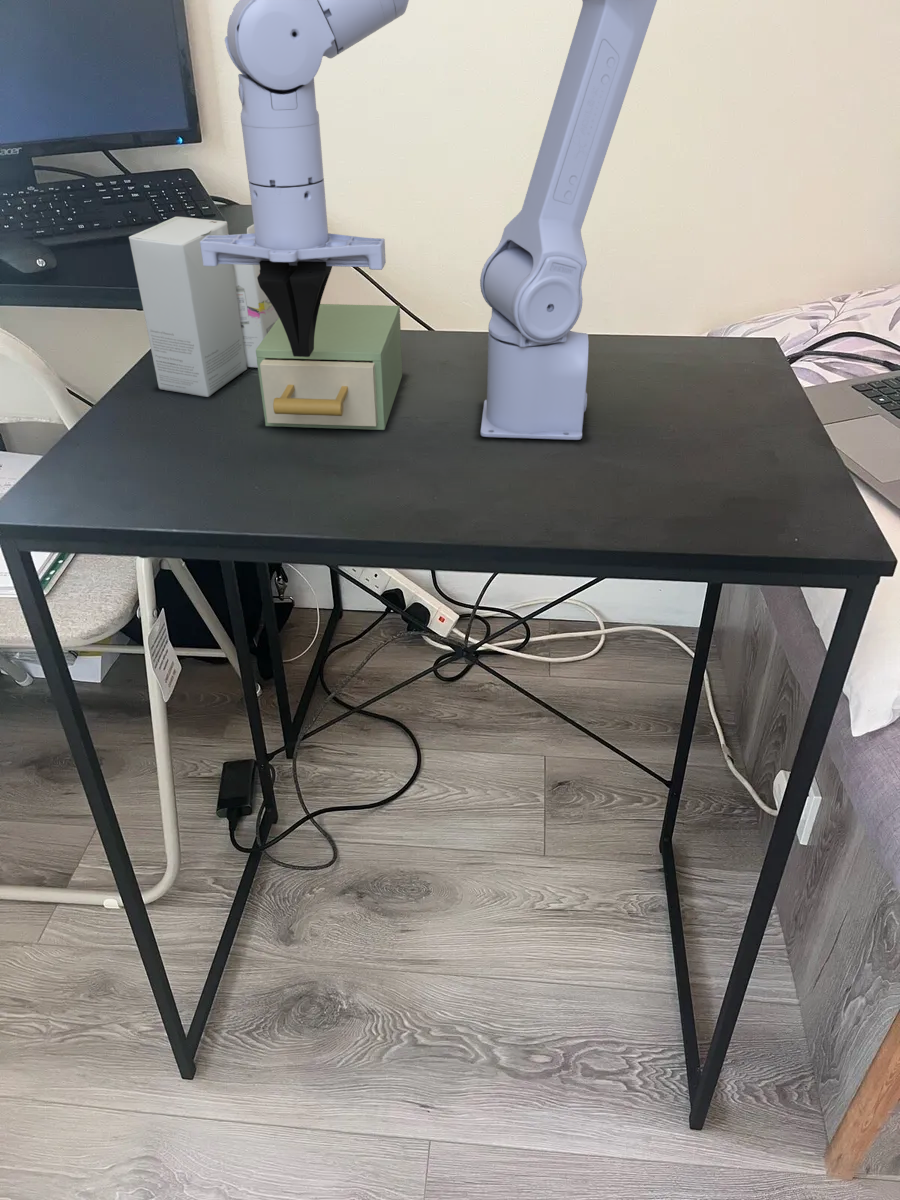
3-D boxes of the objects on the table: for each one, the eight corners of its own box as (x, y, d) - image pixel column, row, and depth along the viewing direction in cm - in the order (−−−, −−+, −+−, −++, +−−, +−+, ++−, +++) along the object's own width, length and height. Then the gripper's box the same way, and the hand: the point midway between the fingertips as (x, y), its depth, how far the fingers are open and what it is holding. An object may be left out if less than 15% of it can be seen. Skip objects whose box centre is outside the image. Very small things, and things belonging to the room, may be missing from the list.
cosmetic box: (200, 362, 101) (175, 214, 92) (252, 370, 99) (232, 219, 90) (155, 390, 94) (123, 234, 85) (209, 399, 92) (183, 240, 83)
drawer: (367, 450, 81) (364, 388, 78) (254, 446, 82) (245, 385, 78) (393, 376, 95) (391, 321, 92) (296, 373, 96) (290, 318, 92)
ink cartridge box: (254, 340, 107) (237, 207, 98) (294, 342, 106) (280, 209, 97) (225, 366, 100) (204, 226, 91) (268, 370, 99) (250, 228, 90)
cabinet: (384, 430, 86) (380, 353, 82) (265, 426, 87) (255, 349, 83) (402, 376, 97) (399, 305, 93) (296, 373, 98) (288, 302, 94)
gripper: (176, 189, 66) (206, 367, 74) (372, 192, 65) (381, 372, 73) (205, 170, 72) (230, 337, 80) (386, 173, 71) (392, 342, 79)
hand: (303, 352), depth 77 cm, fingers closed
